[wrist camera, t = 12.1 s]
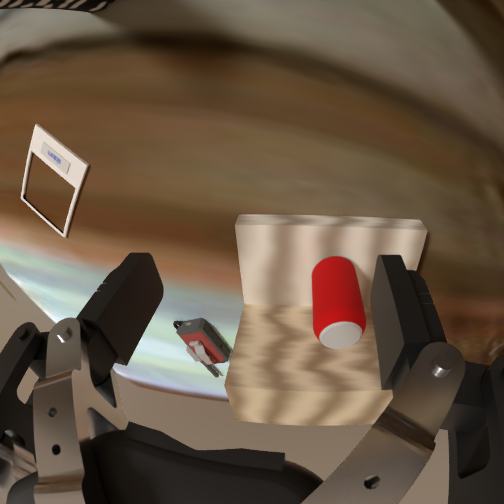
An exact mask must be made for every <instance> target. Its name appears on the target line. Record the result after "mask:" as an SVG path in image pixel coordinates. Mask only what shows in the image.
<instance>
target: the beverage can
mask: <svg viewBox="0 0 504 504" xmlns="http://www.w3.org/2000/svg"><path fill="white" fill-rule="evenodd" d="M311 278H312V309H313V331H314V334H315V336H316V337H317V339H318V340H319V341H320V342H321V344H322V345H324V346H325V347H328V348H331V349H344V348H348V347H350V346H353V345H354V344H356V343H357V342H358V341H359V340H360V339H361V337H362V335H363V333H364V331H365V328H366V315H365V310H364V305H363V301H362V296H361V291H360V287H359V283H358V278H357V274H356V270H355V267H354V265H353V264H352V262H351V261H350V260H349V259H347V258H345V257H342V256H329V257H326V258H324V259H322V260H321V261H320V262H318V263H317V264H316V266H315V267H314V269H313V271H312V275H311Z"/></svg>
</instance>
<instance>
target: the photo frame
mask: <svg viewBox="0 0 504 504" xmlns="http://www.w3.org/2000/svg"><path fill="white" fill-rule="evenodd" d="M32 152H34V153H35V154H36V155H37V156H38V157H39V158H40V159H42V160H43V161H44V162H45V163H46V164H47V165H49V166H50V167H51V168H52V169H53V170H54V171H56V172H57V173H58V174H59V175H60V176H62V177H63V178H64V179H65V180H66V181H68V182H69V183H70V184H71V185H73V186H74V187H75V188H76V189H75V193H74V196H73V199H72V202H71V206H70V209H69V213H68V217H67V220H66V224H65V228H64V232H63V233H61V232H60V231H59V230H58V229H57V228H56V227H54V226H53V225H52V224H51V223H50V222H49V221H48V220H46V219H45V218H44V217H43V216H42V215H41V214H40V213H39V212H38V211H36V210H35V209H34V208H33V207H32V206H31V205H30V204H29V203H28V202H27V201H26V200H25V199H24V198H23V194H25V189H26V183H27V177H28V171H29V166H30V161H31V157H32ZM88 166H89V164H88V163H86V162H85V161H84V160H83V159H81V158H80V157H79V156H77V155H76V154H75V153H74V152H72V151H71V150H70V149H69V148H67V147H66V146H65V145H63V144H62V143H61V142H60V141H58V140H57V139H56V138H55V137H53V136H52V135H51V134H50V133H48V132H47V131H46V130H45V129H43V128H42V127H41V126H40V125H39V124H36V125H35V128H34V132H33V136H32V140H31V144H30V149H29V153H28V158H27V163H26V168H25V174H24V180H23V187H22V194H21V199H22V200H23V201H24V202H25V203H26V204H27V205H28V206H29V207H30V208H31V209H32V210H34V211H35V212H36V213H37V214H38V215H39V216H40V217H41V218H42V219H43V220H45V221H46V222H47V223H48V224H49V225H50V226H51V227H52V228H54V229H55V230H56V231H57V232H58V233H59V234H61V235H62V236H63V237H64V238H65V237H66V236H67V232H68V228H69V224H70V221H71V217H72V214H73V210H74V207H75V204H76V200H77V197H78V194H79V191H80V188H81V185H82V182H83V179H84V177H85V174H86V171H87V168H88Z"/></svg>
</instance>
